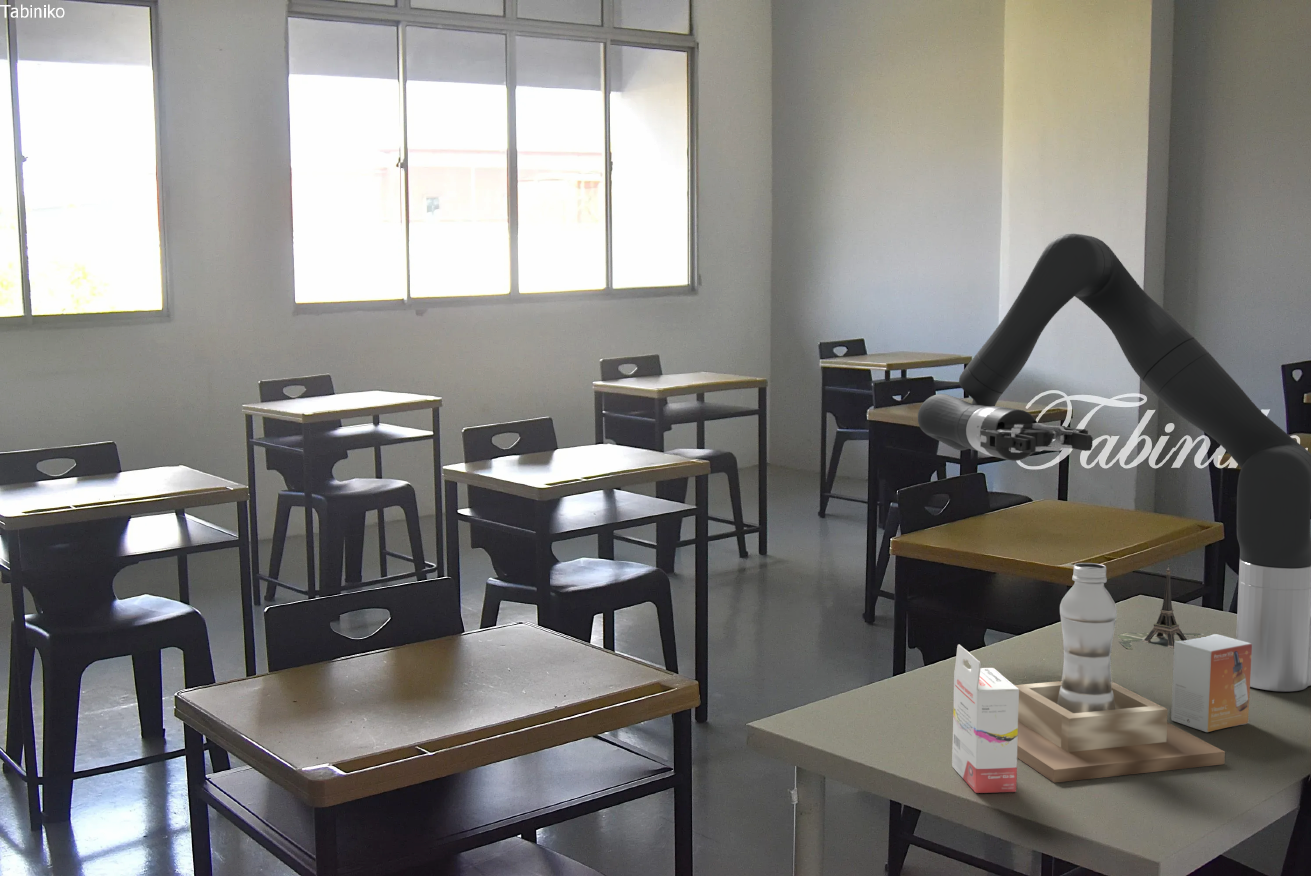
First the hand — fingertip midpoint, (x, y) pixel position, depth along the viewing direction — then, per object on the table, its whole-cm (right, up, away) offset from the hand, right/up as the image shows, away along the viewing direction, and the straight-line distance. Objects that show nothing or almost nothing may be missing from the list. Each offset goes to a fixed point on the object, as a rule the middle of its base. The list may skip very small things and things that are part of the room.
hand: (1061, 444), depth 171 cm
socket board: (-3, -36, -18) cm, 40 cm away
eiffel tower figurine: (+25, -32, +27) cm, 48 cm away
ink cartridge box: (-18, -38, -29) cm, 51 cm away
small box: (+15, -36, -11) cm, 40 cm away
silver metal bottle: (-3, -35, -18) cm, 39 cm away
